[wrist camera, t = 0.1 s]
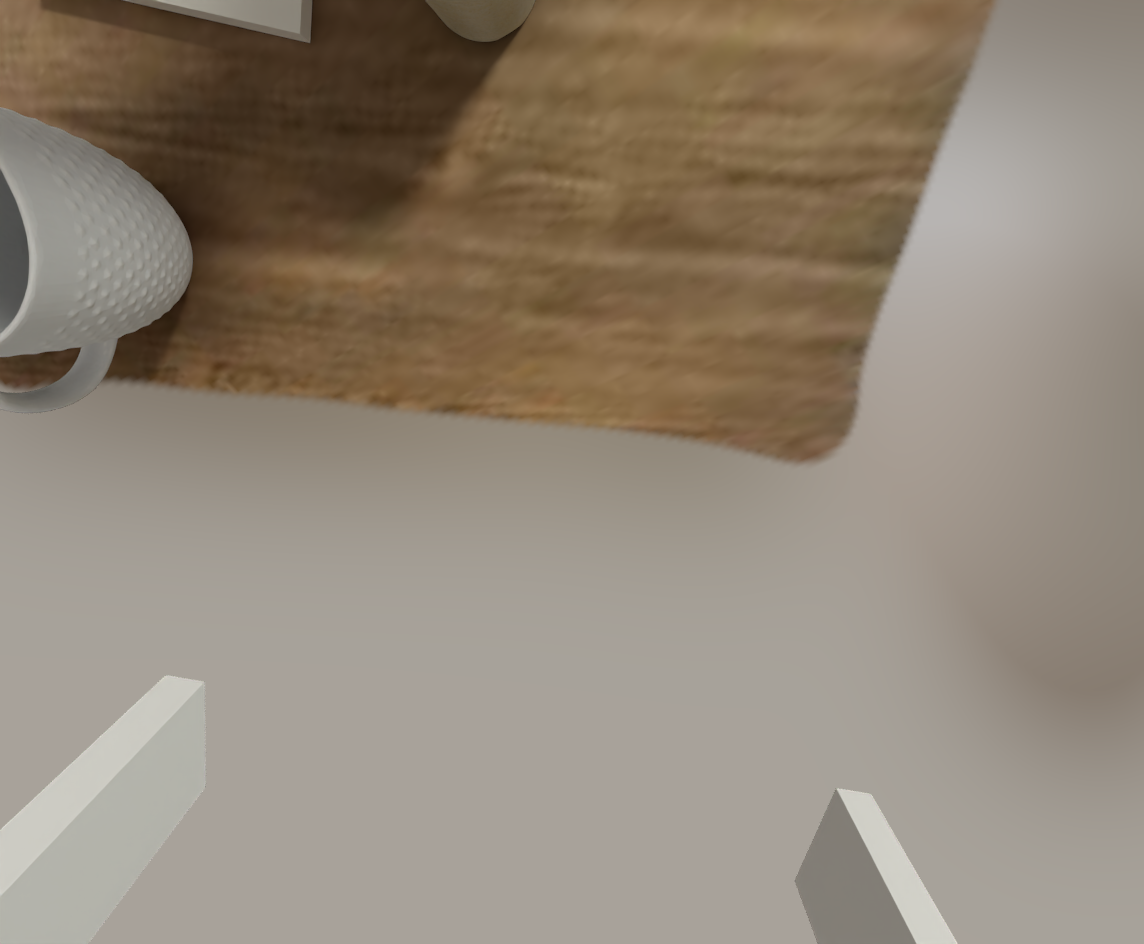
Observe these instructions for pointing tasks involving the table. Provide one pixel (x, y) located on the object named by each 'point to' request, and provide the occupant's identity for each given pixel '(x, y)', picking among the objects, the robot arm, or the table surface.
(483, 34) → the flower pot
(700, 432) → the table surface
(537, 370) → the table surface
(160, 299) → the mug
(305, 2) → the letter board
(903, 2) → the table surface
